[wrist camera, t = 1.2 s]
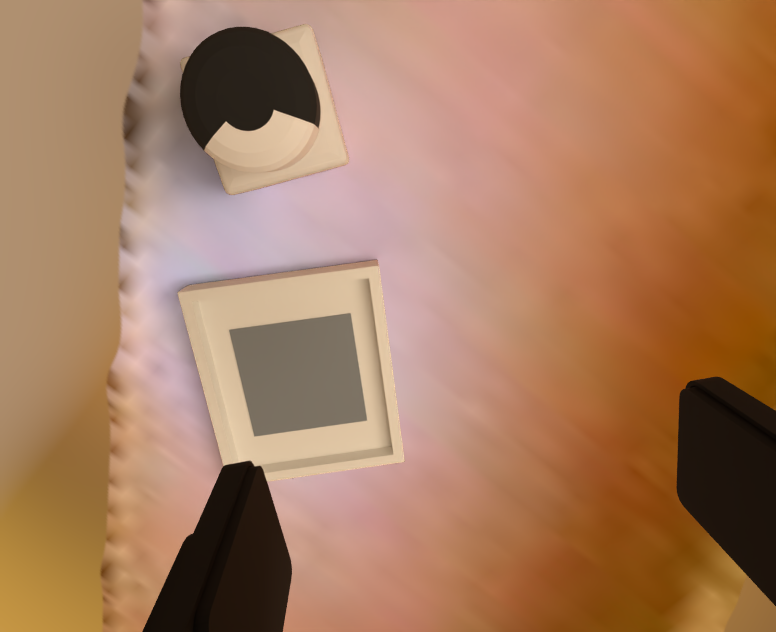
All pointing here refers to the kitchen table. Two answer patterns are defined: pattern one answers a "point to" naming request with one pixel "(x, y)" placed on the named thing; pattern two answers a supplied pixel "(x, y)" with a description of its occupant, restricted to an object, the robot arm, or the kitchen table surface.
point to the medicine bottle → (262, 106)
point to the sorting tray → (297, 369)
